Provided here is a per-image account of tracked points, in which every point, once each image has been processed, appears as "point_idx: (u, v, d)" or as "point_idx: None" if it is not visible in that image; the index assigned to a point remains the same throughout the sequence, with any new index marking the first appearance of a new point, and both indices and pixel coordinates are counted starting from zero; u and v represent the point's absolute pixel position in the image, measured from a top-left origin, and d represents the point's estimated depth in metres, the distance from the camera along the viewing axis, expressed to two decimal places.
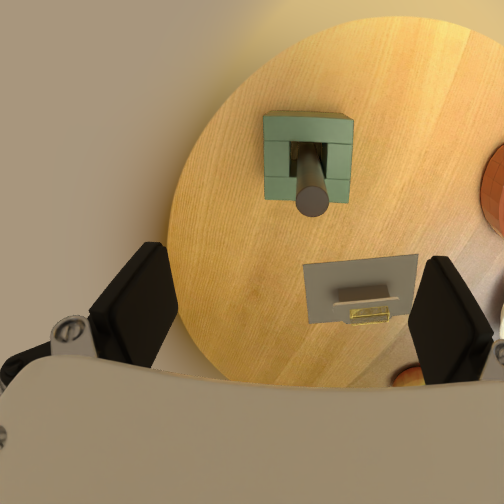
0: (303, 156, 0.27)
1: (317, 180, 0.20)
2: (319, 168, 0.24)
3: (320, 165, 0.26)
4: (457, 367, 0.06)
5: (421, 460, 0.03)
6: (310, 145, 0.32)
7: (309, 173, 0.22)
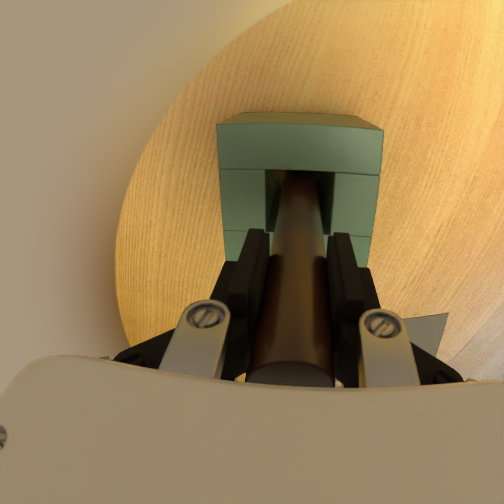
0: (288, 204, 0.14)
1: (309, 318, 0.08)
2: (318, 245, 0.11)
3: (321, 226, 0.13)
4: (335, 335, 0.08)
5: (421, 460, 0.03)
6: (304, 172, 0.19)
7: (293, 279, 0.09)
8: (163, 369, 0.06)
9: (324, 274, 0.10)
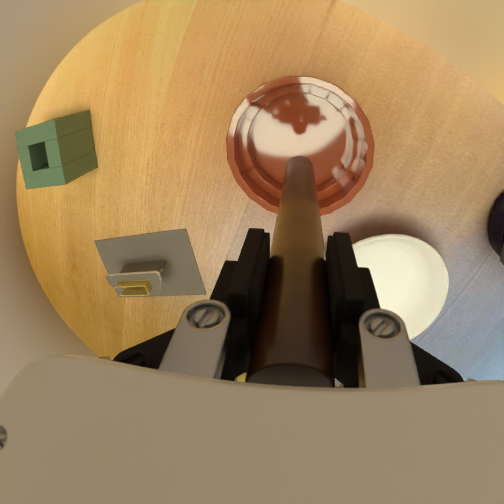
0: (288, 205, 0.14)
1: (309, 320, 0.08)
2: (318, 247, 0.11)
3: (321, 227, 0.13)
4: (335, 335, 0.08)
5: (421, 460, 0.03)
6: (304, 173, 0.19)
7: (292, 281, 0.09)
8: (163, 369, 0.06)
9: (324, 276, 0.10)
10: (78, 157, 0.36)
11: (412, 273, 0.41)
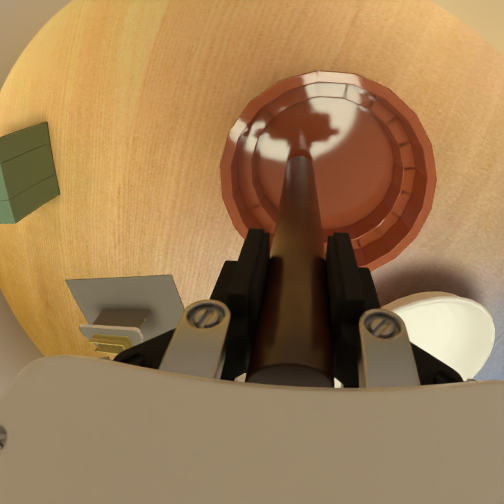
0: (288, 206, 0.14)
1: (309, 321, 0.08)
2: (318, 247, 0.11)
3: (321, 227, 0.13)
4: (335, 335, 0.08)
5: (421, 460, 0.03)
6: (304, 173, 0.19)
7: (292, 282, 0.09)
8: (163, 369, 0.06)
9: (324, 276, 0.10)
10: (32, 185, 0.26)
11: (450, 328, 0.31)
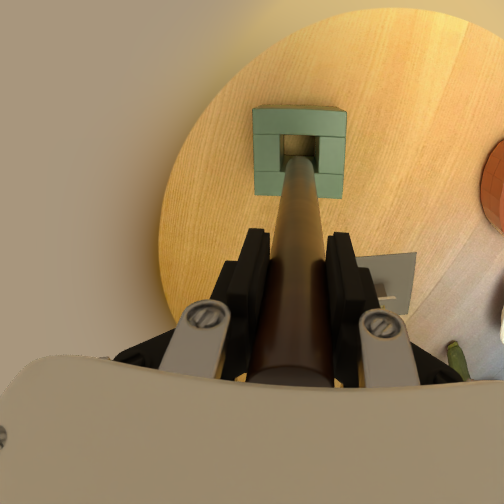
0: (288, 207, 0.14)
1: (309, 322, 0.08)
2: (318, 248, 0.11)
3: (321, 228, 0.13)
4: (335, 335, 0.08)
5: (421, 460, 0.03)
6: (304, 174, 0.19)
7: (292, 283, 0.09)
8: (163, 369, 0.06)
9: (324, 278, 0.10)
10: None
11: None
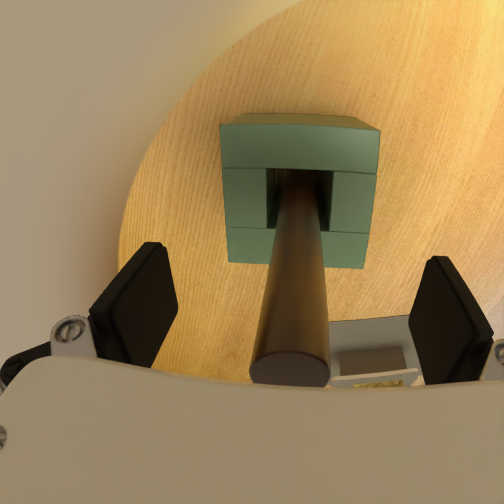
0: (288, 208, 0.15)
1: (307, 313, 0.08)
2: (316, 247, 0.12)
3: (319, 229, 0.14)
4: (457, 367, 0.06)
5: (421, 460, 0.03)
6: (304, 177, 0.20)
7: (292, 279, 0.10)
8: None
9: (321, 274, 0.11)
10: None
11: None
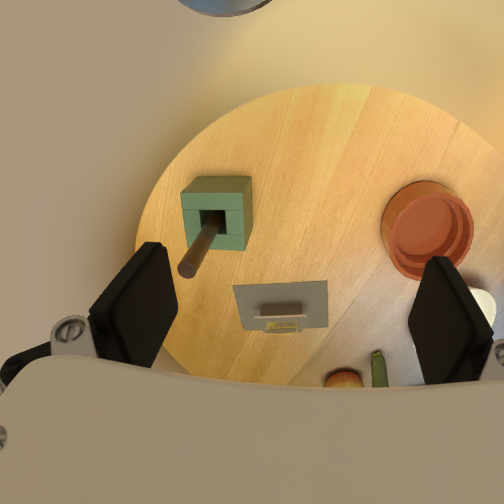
0: (203, 226, 0.42)
1: (192, 256, 0.35)
2: (205, 240, 0.38)
3: (212, 234, 0.41)
4: (457, 367, 0.06)
5: (421, 460, 0.03)
6: (219, 210, 0.46)
7: (192, 248, 0.36)
8: None
9: (203, 248, 0.37)
10: (248, 223, 0.48)
11: None
